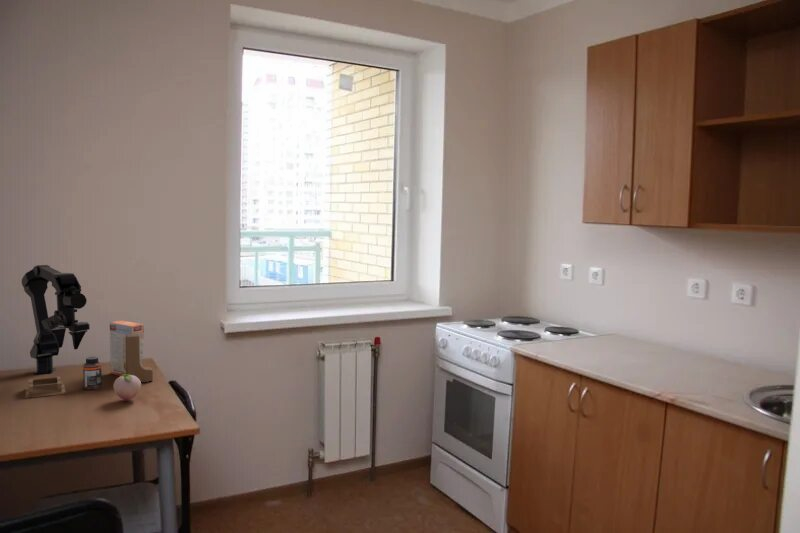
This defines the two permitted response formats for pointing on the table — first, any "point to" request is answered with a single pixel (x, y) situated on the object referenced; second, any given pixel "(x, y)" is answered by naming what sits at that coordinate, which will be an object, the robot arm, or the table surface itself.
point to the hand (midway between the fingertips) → (68, 348)
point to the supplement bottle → (92, 373)
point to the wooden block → (136, 360)
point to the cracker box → (123, 344)
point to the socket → (45, 387)
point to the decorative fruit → (127, 386)
